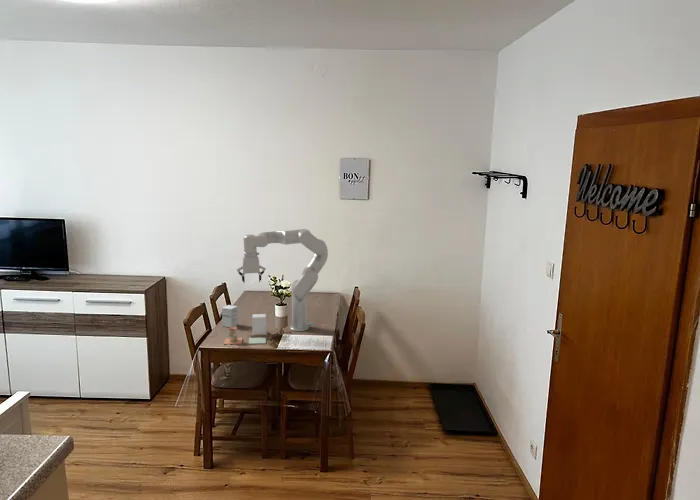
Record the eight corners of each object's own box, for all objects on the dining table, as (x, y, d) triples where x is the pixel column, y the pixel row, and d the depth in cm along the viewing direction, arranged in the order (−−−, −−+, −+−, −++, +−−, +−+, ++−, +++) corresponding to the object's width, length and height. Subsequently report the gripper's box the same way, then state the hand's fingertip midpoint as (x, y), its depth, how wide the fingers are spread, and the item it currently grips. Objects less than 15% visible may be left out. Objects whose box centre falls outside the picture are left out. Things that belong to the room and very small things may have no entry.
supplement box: (222, 326, 323) (221, 307, 320) (229, 322, 329) (228, 304, 327) (231, 328, 320) (230, 309, 317) (238, 324, 326) (238, 306, 324)
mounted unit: (267, 332, 313) (267, 313, 311) (267, 336, 306) (267, 317, 303) (251, 332, 312) (251, 313, 310) (250, 337, 304) (250, 318, 302)
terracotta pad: (242, 338, 302) (242, 337, 302) (241, 344, 293) (241, 343, 293) (225, 339, 300) (225, 338, 300) (223, 344, 292) (223, 343, 292)
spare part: (237, 339, 299) (236, 326, 297) (236, 341, 295) (236, 328, 294) (230, 339, 298) (229, 326, 297) (229, 342, 295) (229, 329, 293)
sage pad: (265, 338, 303) (265, 337, 303) (265, 343, 294) (265, 342, 294) (249, 338, 302) (249, 337, 301) (248, 344, 293) (248, 343, 293)
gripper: (264, 253, 313) (265, 279, 316) (236, 254, 310) (237, 281, 313) (265, 255, 306) (266, 282, 309) (235, 256, 302) (237, 284, 306)
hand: (251, 281), depth 311 cm, fingers open, 9 cm apart
